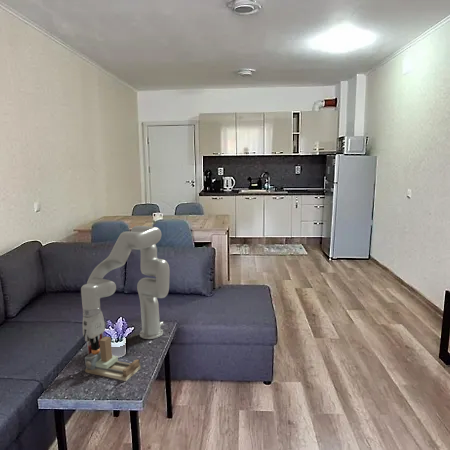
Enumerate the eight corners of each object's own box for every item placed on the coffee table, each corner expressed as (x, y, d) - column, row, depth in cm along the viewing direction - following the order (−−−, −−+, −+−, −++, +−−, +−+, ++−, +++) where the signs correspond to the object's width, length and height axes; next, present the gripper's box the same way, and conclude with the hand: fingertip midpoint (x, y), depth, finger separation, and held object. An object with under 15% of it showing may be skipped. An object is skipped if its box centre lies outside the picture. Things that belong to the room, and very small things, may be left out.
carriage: (107, 358, 186) (105, 334, 184) (118, 360, 184) (116, 335, 182) (96, 366, 179) (93, 341, 177) (106, 369, 177) (104, 343, 175)
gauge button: (95, 356, 186) (95, 346, 185) (102, 357, 184) (101, 347, 184) (90, 359, 182) (89, 350, 182) (96, 360, 181) (96, 351, 180)
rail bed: (101, 360, 190) (100, 346, 189) (140, 368, 181) (139, 354, 180) (85, 372, 180) (84, 357, 179) (125, 381, 171) (124, 365, 170)
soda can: (99, 359, 191) (97, 336, 189) (85, 358, 193) (83, 335, 191) (106, 352, 198) (104, 329, 196) (93, 351, 200) (91, 328, 198)
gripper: (87, 318, 171) (90, 358, 174) (109, 306, 185) (112, 343, 188) (73, 316, 174) (77, 355, 177) (96, 304, 188) (99, 341, 191)
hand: (95, 349), depth 183 cm, fingers closed
